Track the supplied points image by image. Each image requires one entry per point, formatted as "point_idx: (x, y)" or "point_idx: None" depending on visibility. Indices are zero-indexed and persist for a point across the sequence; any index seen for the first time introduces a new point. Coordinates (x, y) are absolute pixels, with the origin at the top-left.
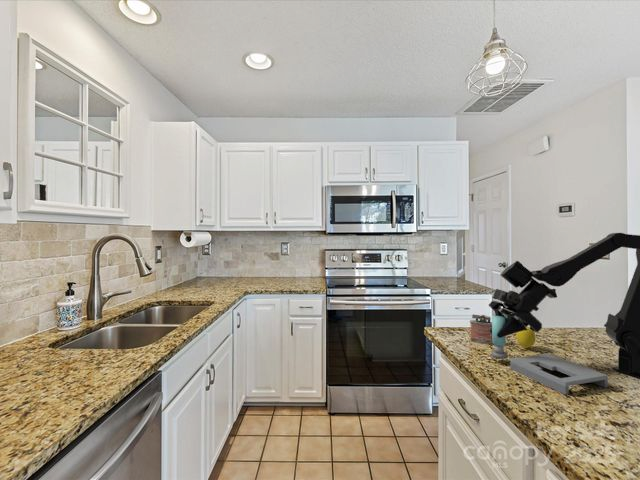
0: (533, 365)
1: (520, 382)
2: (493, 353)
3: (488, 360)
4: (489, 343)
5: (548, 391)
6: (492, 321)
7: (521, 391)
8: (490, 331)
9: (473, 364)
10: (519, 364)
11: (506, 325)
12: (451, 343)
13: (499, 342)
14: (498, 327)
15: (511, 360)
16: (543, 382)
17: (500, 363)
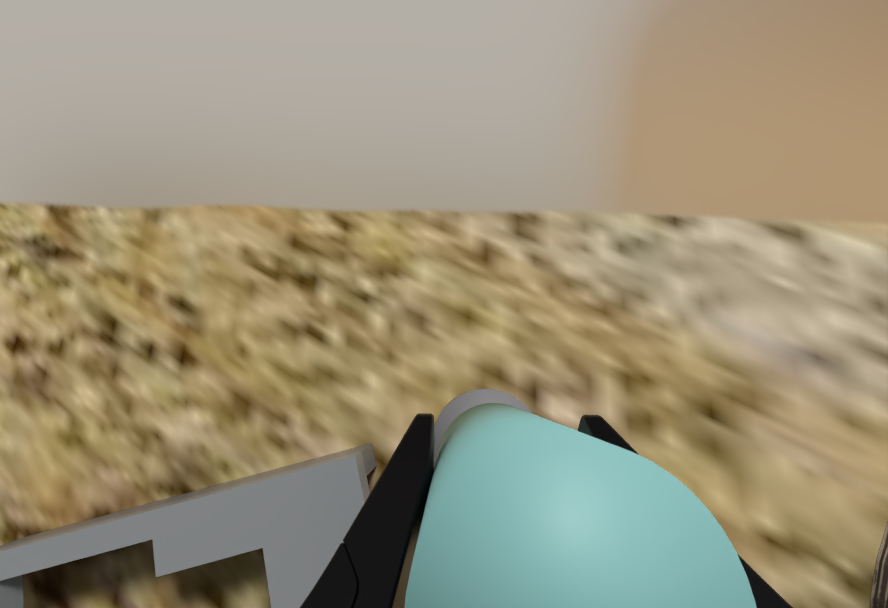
0: (213, 550)
1: (197, 387)
2: (475, 393)
3: (512, 380)
4: (880, 585)
5: (80, 469)
6: (552, 427)
7: (110, 329)
8: (583, 418)
9: (451, 257)
10: (281, 473)
11: (318, 591)
12: (846, 280)
13: (442, 440)
14: (439, 468)
15: (346, 456)
16: (143, 506)
17: None
